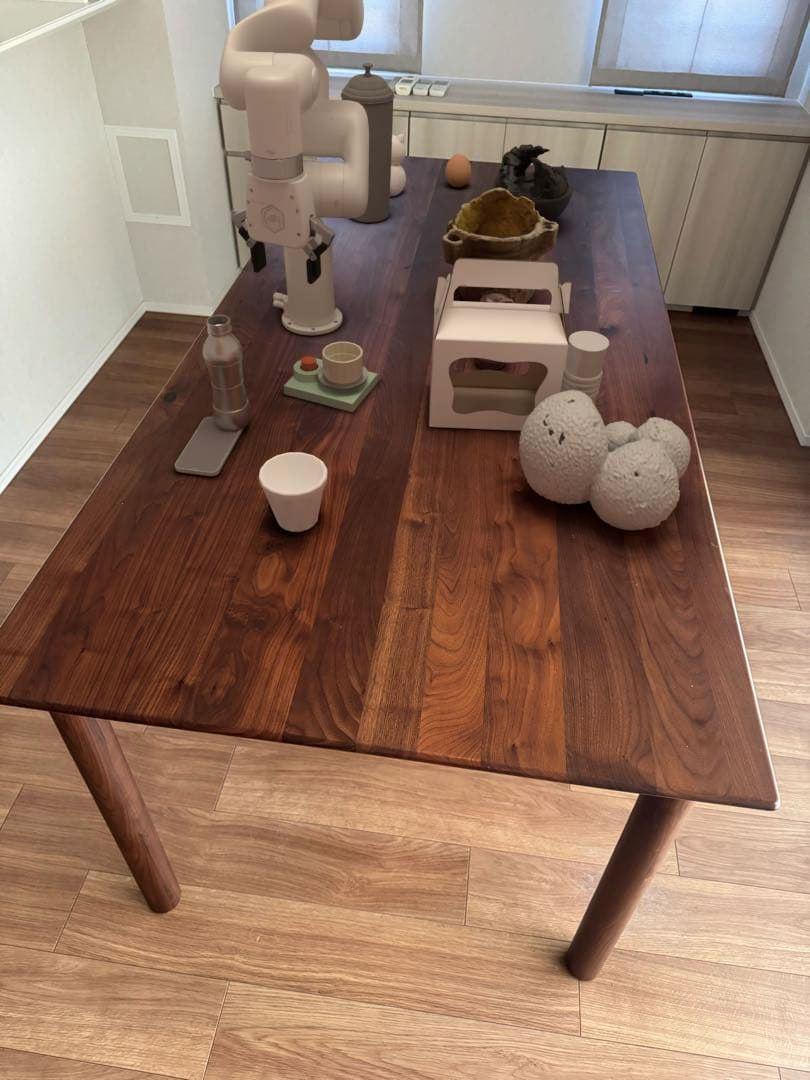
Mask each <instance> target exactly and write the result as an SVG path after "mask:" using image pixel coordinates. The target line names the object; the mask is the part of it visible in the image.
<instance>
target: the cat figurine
mask: <svg viewBox="0 0 810 1080" xmlns="http://www.w3.org/2000/svg"><path fill="white" fill-rule="evenodd" d="M404 143H405V135H404V133H399V134H398V135H395V134H392V156H391V181H390V197H396V196H398V195H399V194H401V193H402V191H403V190H404V188H405V187H406V183H407V176H406V171H405V169H404V167H403V165H401V164H402V163H403V162H404V161H405V158H406V155H407V151H406V146H405V144H404Z"/></svg>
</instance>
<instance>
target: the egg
mask: <svg viewBox="0 0 810 1080" xmlns="http://www.w3.org/2000/svg"><path fill="white" fill-rule="evenodd" d="M472 172H473V171H472V165H471V163H470V160H469V159H468V157H466V156H465V155H463V154H462V153H456V154H454V155H453V156H452V157H450V159H449V160H448V162H447V163H446V166H445V169H444V175H445V179H446V181H447V182H448V184H449V185H450V186H452V187H454V188H462V187H464V186H465V185H467V184H468V183H469V181H470V180H471V177H472Z"/></svg>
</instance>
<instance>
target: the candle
mask: <svg viewBox="0 0 810 1080" xmlns="http://www.w3.org/2000/svg"><path fill="white" fill-rule="evenodd" d="M568 340H569V347H568V352H567V358H566V363H565V368H564V374H563V379H562V384H561V389H560V392H564V391H568V390H574V391H581V392H583V393H585V394H586V395H587V396H589V398H591V399H592V401H593V403H594V406H595V407H596V400H597V396H598V395H599V392H600V389H601V382H602V377H603V375H604V370H603V367H604V362H605V359H606V358H605V357H606V353H607V350H608V348H609V346H610V341H609V339H608V337H606V336H605V335H603V334H601V333H599V332H596V331H591V330H580V331H575V332H573V333H571V334H570V335H569V336H568Z"/></svg>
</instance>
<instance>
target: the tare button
mask: <svg viewBox="0 0 810 1080" xmlns="http://www.w3.org/2000/svg"><path fill="white" fill-rule="evenodd" d="M300 360H301V366H302V370H303V371H314V370H316V369H317V362H316V357H314V356H312V355H305V356H303V357H301V359H300Z"/></svg>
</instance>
